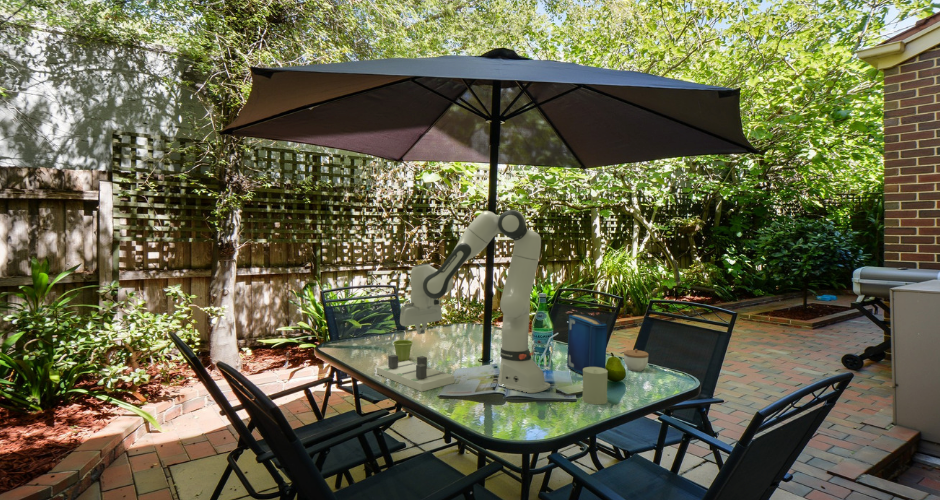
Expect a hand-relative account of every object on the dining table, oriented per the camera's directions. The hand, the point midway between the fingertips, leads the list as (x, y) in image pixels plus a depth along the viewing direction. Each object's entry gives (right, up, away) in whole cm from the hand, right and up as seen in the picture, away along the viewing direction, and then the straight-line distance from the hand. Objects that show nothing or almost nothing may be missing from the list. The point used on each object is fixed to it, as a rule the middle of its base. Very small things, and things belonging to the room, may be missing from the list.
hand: (421, 333), depth 219 cm
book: (+73, -19, +7) cm, 75 cm away
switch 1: (-12, -15, +3) cm, 20 cm away
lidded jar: (+97, -19, +15) cm, 100 cm away
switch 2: (+1, -16, -12) cm, 20 cm away
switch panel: (-3, -19, -1) cm, 19 cm away
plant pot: (-12, -18, +29) cm, 36 cm away
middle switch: (0, -15, +1) cm, 15 cm away
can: (+68, -21, -27) cm, 76 cm away
